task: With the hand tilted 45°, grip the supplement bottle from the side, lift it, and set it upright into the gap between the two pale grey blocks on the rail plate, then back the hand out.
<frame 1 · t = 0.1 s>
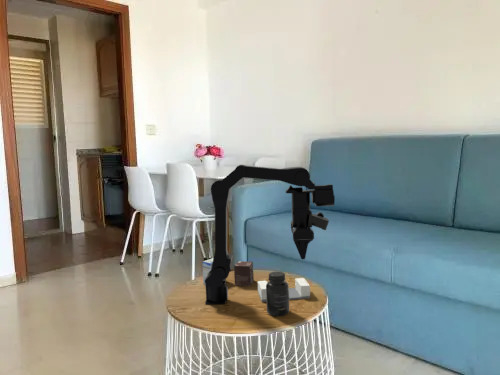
hand: (302, 255, 134), 15 cm above the table, tool pointing down, fingers open, 9 cm apart
medicine box: (214, 283, 156), on the table
box: (244, 283, 154), on the table
rail plate: (283, 295, 140), on the table
supplement bottle: (278, 312, 126), on the table
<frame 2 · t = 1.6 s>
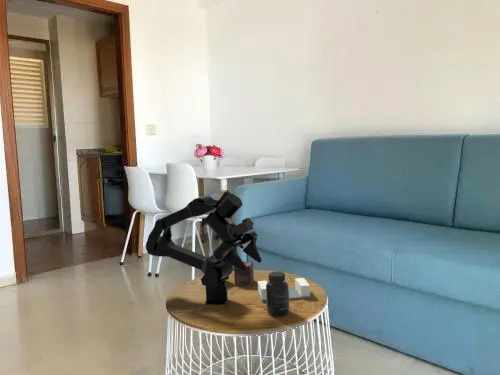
hand: (253, 265, 129), 13 cm above the table, tool tilted 45°, fingers open, 9 cm apart
nothing on the table moved.
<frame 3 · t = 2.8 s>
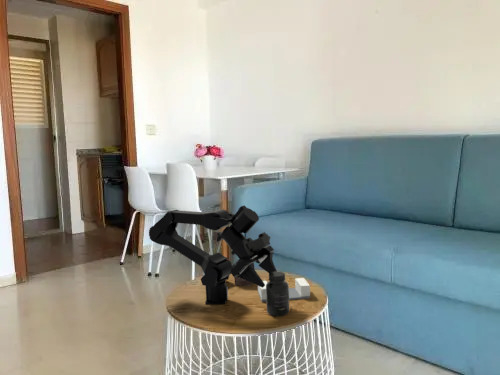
hand: (271, 281, 126), 9 cm above the table, tool tilted 45°, fingers open, 9 cm apart
nothing on the table moved.
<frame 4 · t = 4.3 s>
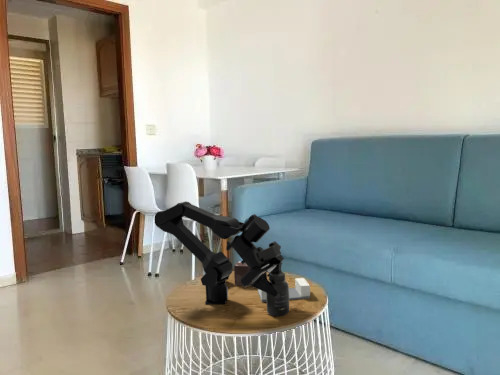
hand: (281, 291, 125), 7 cm above the table, tool tilted 45°, fingers closed on supplement bottle, 7 cm apart
supplement bottle: (278, 312, 126), on the table, touching gripper
everything else where it was.
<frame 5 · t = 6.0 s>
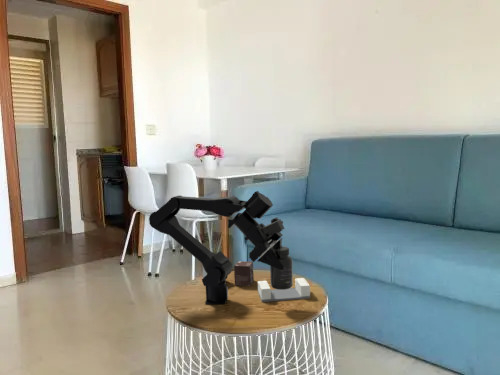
hand: (285, 265, 128), 13 cm above the table, tool tilted 45°, fingers closed on supplement bottle, 7 cm apart
supplement bottle: (281, 286, 130), point 6 cm above the table, touching gripper
everything else where it was.
when the fingers open (8 cm above the table, at t = 8.2 s): supplement bottle stays where it is, resting on rail plate.
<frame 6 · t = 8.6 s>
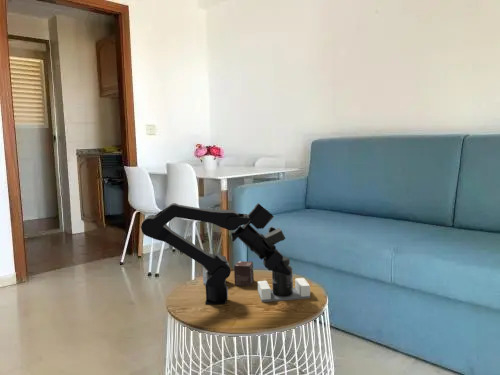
hand: (286, 270, 139), 9 cm above the table, tool tilted 45°, fingers open, 9 cm apart
supplement bottle: (282, 294, 140), resting on rail plate
everything else where it was.
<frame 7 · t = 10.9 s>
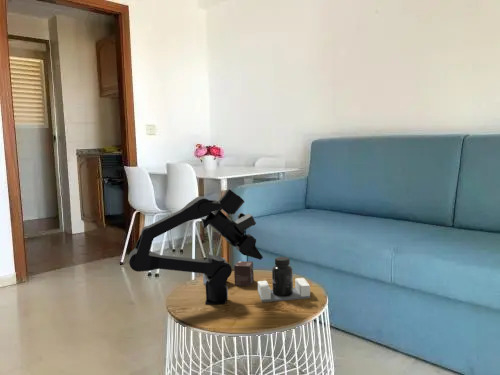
hand: (257, 255, 140), 14 cm above the table, tool tilted 45°, fingers open, 9 cm apart
nothing on the table moved.
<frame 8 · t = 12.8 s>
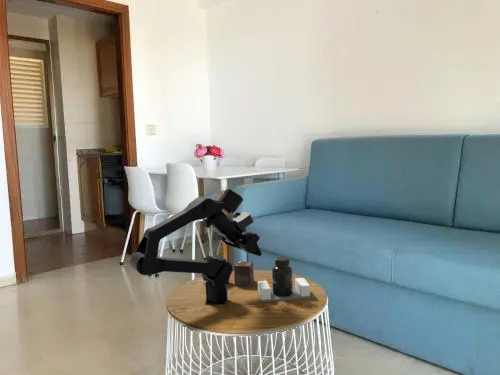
hand: (253, 252, 144), 14 cm above the table, tool tilted 45°, fingers open, 9 cm apart
nothing on the table moved.
at the end: supplement bottle 0.2 cm off-centre on the rail plate, point 0.4 cm above the rail plate's base; supplement bottle tilted 0°; the gripper is holding nothing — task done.
